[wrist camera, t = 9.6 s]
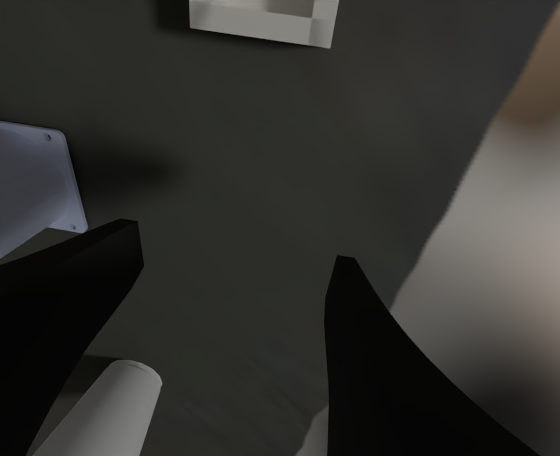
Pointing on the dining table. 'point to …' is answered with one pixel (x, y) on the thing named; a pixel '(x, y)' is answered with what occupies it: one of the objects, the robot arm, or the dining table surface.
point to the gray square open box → (268, 19)
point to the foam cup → (108, 414)
